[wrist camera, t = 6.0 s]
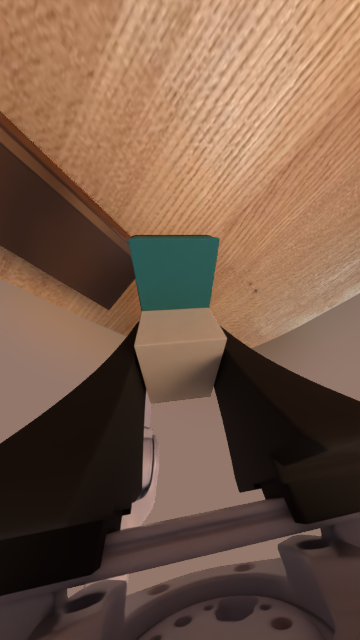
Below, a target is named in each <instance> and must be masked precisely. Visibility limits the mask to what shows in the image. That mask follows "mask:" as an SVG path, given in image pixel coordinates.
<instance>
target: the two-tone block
mask: <svg viewBox="0 0 360 640" xmlns="http://www.w3.org/2000/svg"><path fill="white" fill-rule="evenodd" d="M128 243H129V248H130V253H131V258H132V264H133V269H134V274H135V279H136V284H137V289H138V294H139V300H140V305H141V310H142V314H141V318H140V322H139V327H138V331H137V335H136V339H135V344H134V348H135V351H136V355H137V358H138V362H139V365H140V369H141V372H142V376H143V379H144V383H145V386H146V390H147V393H148V397H149V400H150V403H151V404H152V403H161V402H169V401H177V400H185V399H193V398H201V397H210V396H211V393H212V389H213V386H214V383H215V379H216V376H217V372H218V369H219V365H220V362H221V358H222V355H223V351H224V348H225V344H226V341H227V337H226V336H225V334H224V332H223V331H222V329H221V327H220V325H219V324H218V322H217V320H216V319H215V317H214V315H213V314H212V312H211V310H210V308H209V306H210V299H211V293H212V286H213V279H214V273H215V266H216V260H217V253H218V247H219V238H216V237H211V236H209V235H134V236H132V237H131V238H129V239H128Z"/></svg>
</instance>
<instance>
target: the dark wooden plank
mask: <svg viewBox="0 0 360 640" xmlns="http://www.w3.org/2000/svg"><path fill="white" fill-rule="evenodd" d="M129 238H131V236H130V235H129V234H127V233H126V232H125V231H124V230H123V229H122V228H121V227H120V226H119V225H118V224H117V223H116V222H115V221H114V220H113V219H112V218H111V217H110V216H109V215H108V214H107V213H106V212H105V211H103V210H102V209H101V208H100V207H99V206H98V205H97V204H96V203H95V202H94V201H93V200H92V199H91V198H90V197H89V196H88V195H87V194H86V193H85V192H84V191H83V190H82V189H81V188H79V187H78V186H77V185H76V184H75V183H74V182H73V181H72V180H71V179H70V178H69V177H68V176H67V175H66V174H65V173H64V172H63V171H62V170H61V169H60V168H59V167H58V166H57V165H55V164H54V163H53V162H52V161H51V160H50V159H49V158H48V157H47V156H46V155H45V154H44V153H43V152H42V151H41V150H40V149H39V148H38V147H37V146H36V145H35V144H34V143H33V142H31V141H30V140H29V139H28V138H27V137H26V136H25V135H24V134H23V133H22V132H21V131H20V130H19V129H18V128H17V127H16V126H15V125H14V124H13V123H12V122H11V121H10V120H9V119H7V118H6V117H5V116H4V115H3V114H2V113H1V112H0V245H1V246H2V247H4V248H6V249H7V250H9V251H11V252H12V253H14V254H16V255H17V256H19V257H21V258H23V259H24V260H26V261H28V262H29V263H31V264H33V265H34V266H36V267H38V268H39V269H41V270H43V271H44V272H46V273H48V274H49V275H51V276H53V277H54V278H56V279H58V280H59V281H61V282H63V283H64V284H66V285H68V286H69V287H71V288H73V289H74V290H76V291H78V292H79V293H81V294H83V295H84V296H86V297H88V298H89V299H91V300H93V301H94V302H96V303H98V304H99V305H101V306H103V307H105V308H106V309H108V310H110V308H111V307H112V306H113V305H114V303H115V302H116V301H117V300H118V298H119V297H120V296H121V295H122V294H123V292H124V291H125V290H126V289H127V287H128V286H129V285H130V284H131V283H132V281H133V280H134V279H135V274H134V269H133V264H132V258H131V253H130V248H129V243H128V239H129Z"/></svg>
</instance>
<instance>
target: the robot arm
mask: <svg viewBox="0 0 360 640" xmlns="http://www.w3.org/2000/svg"><path fill="white" fill-rule="evenodd" d="M139 322H140V321H139ZM139 322H138V323H137V324H136V325H135V327H134V328H133V329H132V331H131V332H130V333H129V335H128V336H127V337H126V338H125V340H124V341H123V342H122V343H121V345H120V346H119V347H118V348H117V349H116V350H115V351H114V353H113V354H112V355H111V356H110V357H109V358H108V359H107V360H106V361H105V362H104V363H103V364H102V365H101V366H100V367H99V368H98V369H97V370H96V371H95V372H94V373H92V374H91V375H90V376H89V377H88V378H87V379H86V380H84V381H83V382H82V383H81V384H80V385H79V386H77V387H76V388H75V389H74V390H73V391H71V392H70V393H69V394H68V395H66V396H65V397H64V398H63V399H61V400H60V401H59V402H57V403H56V404H55V405H54V406H52V407H51V408H49V409H48V410H47V411H46V412H44V413H43V414H42V415H41V416H39V417H38V418H36V419H35V420H33V421H32V422H31V423H29V424H28V425H26V426H25V427H24V428H22V429H21V430H19V431H18V432H17V433H15V434H13V435H12V436H11V437H9V438H8V439H6V440H5V441H3V442H2V443H1V444H0V640H360V401H357V400H355V399H353V398H350V397H348V396H345V395H343V394H341V393H338V392H336V391H333V390H331V389H329V388H326V387H324V386H321V385H319V384H317V383H315V382H313V381H310V380H308V379H306V378H304V377H301V376H300V375H298V374H296V373H294V372H292V371H289V370H288V369H286V368H284V367H282V366H280V365H278V364H276V363H274V362H272V361H271V360H269V359H267V358H265V357H264V356H262V355H260V354H259V353H257V352H255V351H254V350H252V349H251V348H249V347H248V346H246V345H245V344H243V343H242V342H241V341H239V340H238V339H236V338H235V337H234V336H232V335H231V334H230V333H228V332H227V331H226V330H225V329H223V328H222V327H221V326H220V327H221V329H222V331H223V332H224V334H225V336H226V337H227V341H226V344H225V348H224V351H223V355H222V358H221V362H220V365H219V369H218V372H217V376H216V379H215V383H214V389H215V393H216V396H217V400H218V404H219V408H220V412H221V416H222V420H223V424H224V429H225V433H226V437H227V441H228V446H229V451H230V456H231V460H232V465H233V470H234V475H235V479H236V483H237V486H238V490H239V492H240V493H241V492H245V491H251V490H256V489H262V491H263V494H264V496H265V499H266V500H262V501H258V502H253V503H248V504H243V505H238V506H234V507H228V508H224V509H219V510H214V511H210V512H205V513H200V514H195V515H190V516H185V517H180V518H175V519H171V520H166V521H161V522H156V523H151V524H146V525H142V523H143V522H144V520H145V519H146V518H147V516H148V515H149V513H150V512H151V510H152V508H153V506H154V501H155V499H156V485H157V478H158V472H159V458H160V456H159V455H160V451H159V442H158V439H157V438H156V436H155V435H152V434H153V429H150V425H151V408H152V404H151V403H150V400H149V397H148V393H147V390H146V386H145V383H144V379H143V376H142V372H141V369H140V365H139V362H138V358H137V355H136V351H135V348H134V344H135V339H136V335H137V331H138V327H139ZM141 525H142V526H141ZM318 528H321V533H322V536H321V537H320V536H312V535H296V536H292V537H290V538H288V539H287V540H285V541H283V542H281V543H280V544H278V551H279V553H280V556H281V558H277V559H269V560H262V561H255V562H247V563H240V564H233V565H226V566H220V567H215V568H210V569H205V570H202V571H197V572H193V573H190V574H187V575H184V576H180V577H177V578H174V579H171V580H169V581H166V582H163V583H160V584H158V585H155V586H152V587H150V588H147V589H144V590H142V591H138V592H136V593H133V594H130V595H128V596H126V594H127V585H128V576H129V574H130V573H134V572H138V571H143V570H147V569H151V568H155V567H159V566H164V565H168V564H172V563H176V562H180V561H184V560H188V559H193V558H197V557H201V556H205V555H209V554H214V553H218V552H222V551H226V550H231V549H234V548H238V547H243V546H247V545H251V544H256V543H259V542H264V541H268V540H272V539H277V538H281V537H285V536H289V535H293V534H297V533H301V532H306V531H310V530H314V529H318ZM84 584H85V585H84ZM79 585H84V589H82V590H81V591H79V592H77V593H76V594H74V595H73V596H71V597H70V598H68V597H67V588H72V587H76V586H79Z"/></svg>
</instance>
